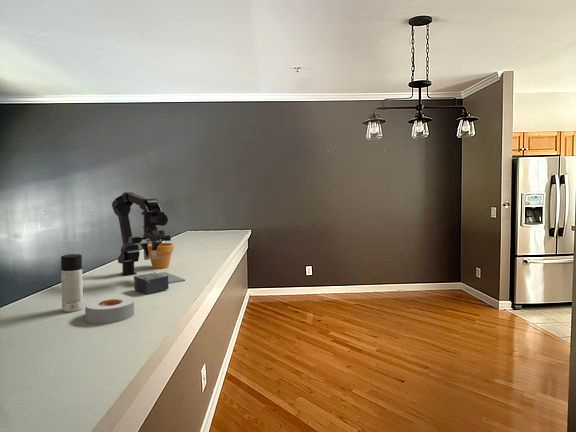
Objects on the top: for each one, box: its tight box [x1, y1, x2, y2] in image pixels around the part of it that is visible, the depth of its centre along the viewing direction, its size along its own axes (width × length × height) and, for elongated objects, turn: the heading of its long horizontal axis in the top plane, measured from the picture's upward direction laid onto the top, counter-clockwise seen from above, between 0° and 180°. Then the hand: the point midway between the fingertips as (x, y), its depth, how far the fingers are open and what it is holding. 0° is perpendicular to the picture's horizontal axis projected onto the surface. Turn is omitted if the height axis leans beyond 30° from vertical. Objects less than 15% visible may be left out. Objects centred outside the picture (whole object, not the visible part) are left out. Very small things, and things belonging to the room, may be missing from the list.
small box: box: [133, 272, 170, 295], centre depth 162 cm, size 11×6×10 cm
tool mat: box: [158, 271, 186, 285], centre depth 183 cm, size 22×13×1 cm, turn 43°
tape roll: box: [84, 296, 135, 325], centre depth 129 cm, size 15×15×5 cm
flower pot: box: [148, 242, 174, 270], centre depth 210 cm, size 14×14×13 cm
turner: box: [143, 250, 166, 261], centre depth 178 cm, size 14×7×4 cm, turn 44°
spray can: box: [60, 253, 84, 313], centre depth 134 cm, size 7×7×20 cm
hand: (150, 256), depth 180 cm, fingers closed on turner, 3 cm apart
